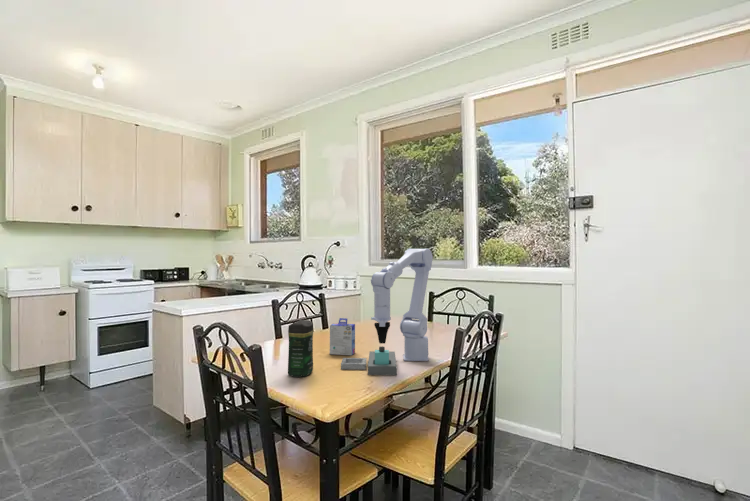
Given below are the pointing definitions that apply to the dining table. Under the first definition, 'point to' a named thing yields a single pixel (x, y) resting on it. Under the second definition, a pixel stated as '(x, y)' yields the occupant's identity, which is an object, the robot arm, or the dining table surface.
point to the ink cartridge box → (342, 338)
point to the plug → (381, 356)
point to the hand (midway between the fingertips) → (382, 343)
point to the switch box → (382, 365)
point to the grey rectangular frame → (353, 364)
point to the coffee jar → (300, 348)
